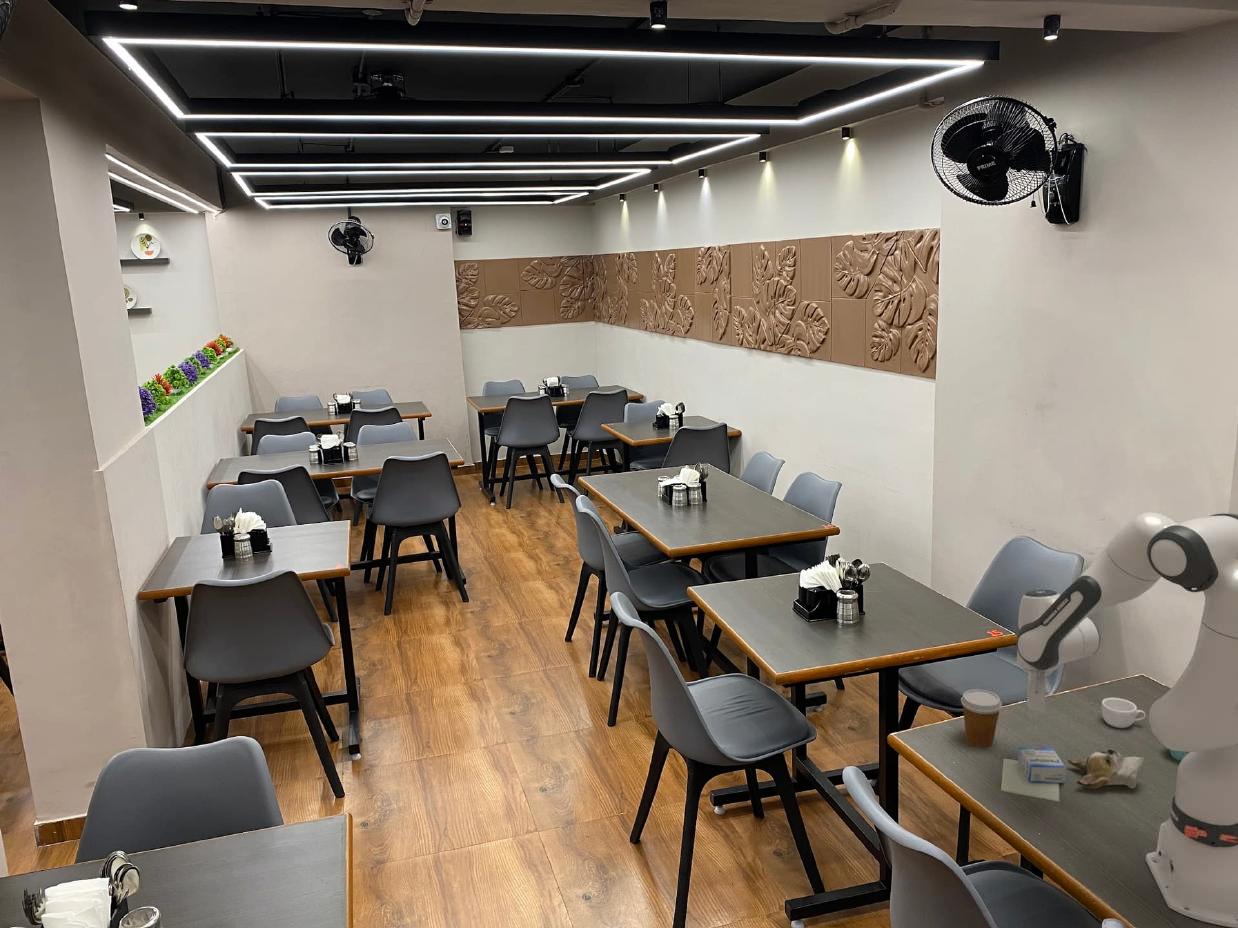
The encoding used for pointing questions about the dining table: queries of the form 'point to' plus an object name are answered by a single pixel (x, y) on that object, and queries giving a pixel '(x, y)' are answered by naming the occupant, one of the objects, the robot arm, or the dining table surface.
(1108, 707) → the teacup
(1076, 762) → the ceramic sculpture
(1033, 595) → the robot arm
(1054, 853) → the dining table surface
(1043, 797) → the mat
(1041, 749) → the medicine box
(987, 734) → the disposable coffee cup
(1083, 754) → the dining table surface
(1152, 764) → the dining table surface
